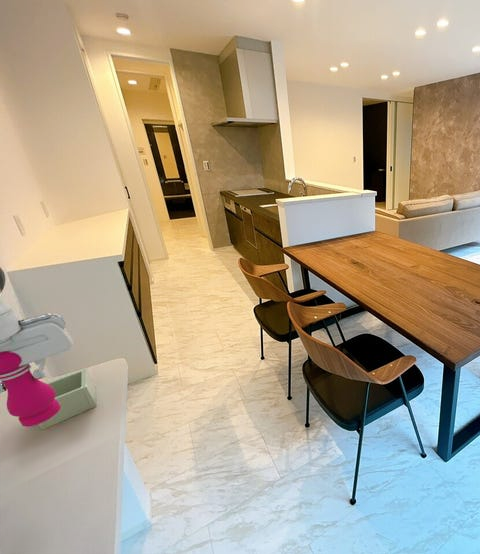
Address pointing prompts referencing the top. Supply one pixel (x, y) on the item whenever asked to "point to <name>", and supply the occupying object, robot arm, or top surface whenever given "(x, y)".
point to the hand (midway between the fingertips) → (22, 384)
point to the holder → (72, 396)
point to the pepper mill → (26, 392)
